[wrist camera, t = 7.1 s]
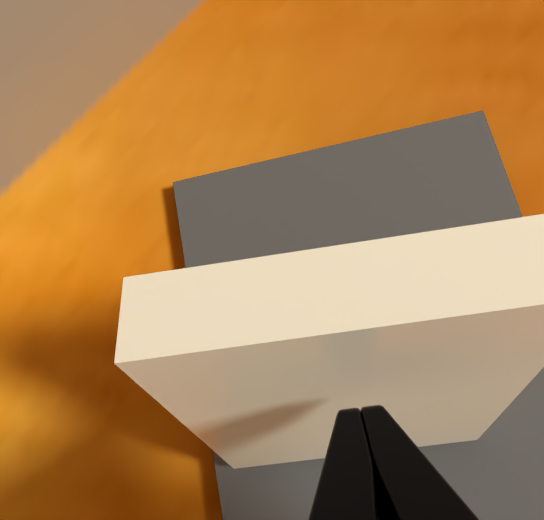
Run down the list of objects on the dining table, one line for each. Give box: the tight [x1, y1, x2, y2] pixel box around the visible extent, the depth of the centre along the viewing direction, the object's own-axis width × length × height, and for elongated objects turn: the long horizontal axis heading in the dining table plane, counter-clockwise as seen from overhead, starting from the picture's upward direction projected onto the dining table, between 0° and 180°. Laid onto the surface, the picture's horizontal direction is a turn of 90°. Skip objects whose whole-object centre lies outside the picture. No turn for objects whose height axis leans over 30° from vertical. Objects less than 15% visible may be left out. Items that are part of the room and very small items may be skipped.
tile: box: [114, 214, 544, 469], centre depth 11 cm, size 2×8×9 cm, turn 97°
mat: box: [173, 111, 544, 520], centre depth 16 cm, size 15×12×1 cm
